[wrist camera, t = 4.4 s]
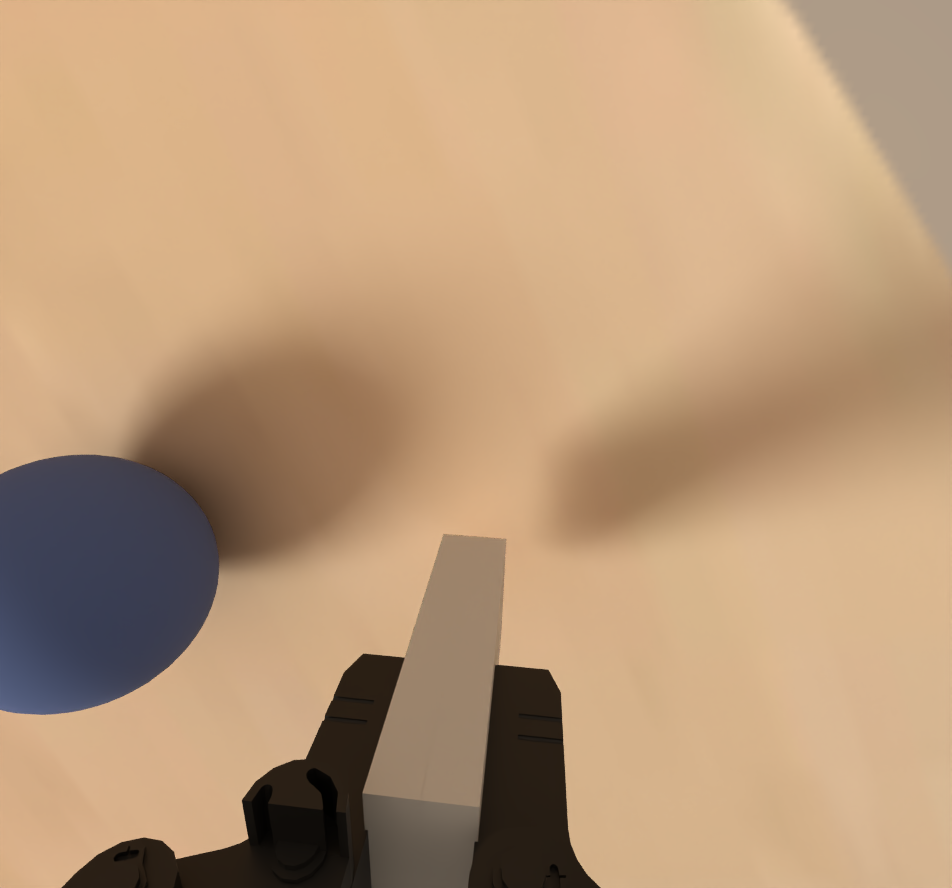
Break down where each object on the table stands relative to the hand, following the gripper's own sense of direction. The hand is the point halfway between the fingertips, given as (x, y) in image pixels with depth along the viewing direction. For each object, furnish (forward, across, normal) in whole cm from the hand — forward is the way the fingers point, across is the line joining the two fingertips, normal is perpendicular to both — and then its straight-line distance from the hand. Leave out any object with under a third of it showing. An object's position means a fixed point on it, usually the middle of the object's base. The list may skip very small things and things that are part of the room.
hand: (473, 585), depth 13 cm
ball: (-1, +10, 0) cm, 10 cm away
